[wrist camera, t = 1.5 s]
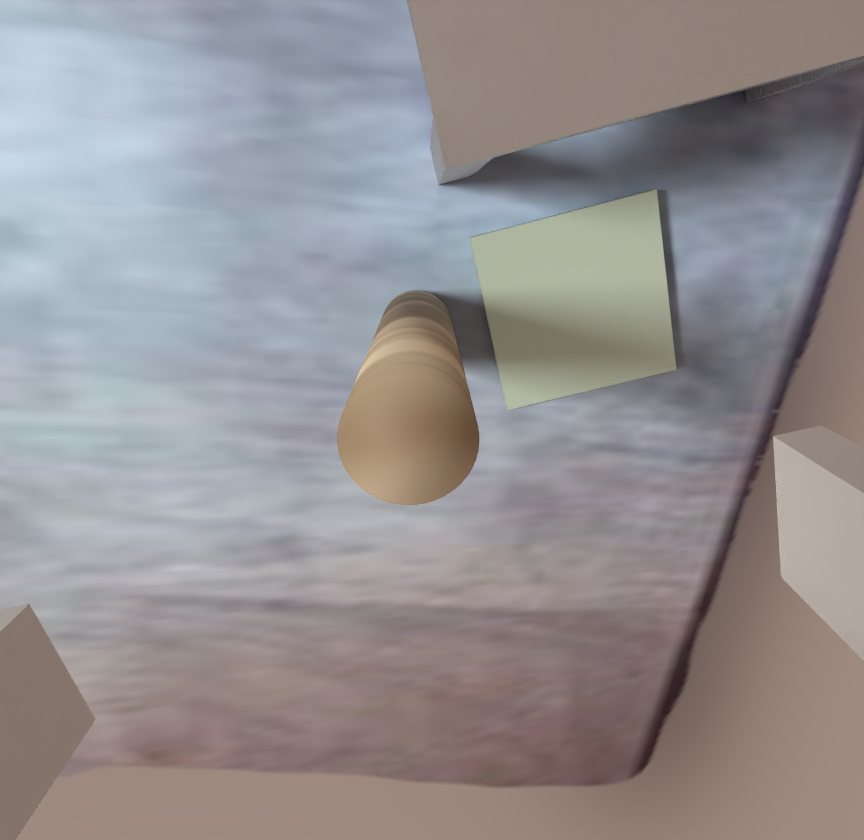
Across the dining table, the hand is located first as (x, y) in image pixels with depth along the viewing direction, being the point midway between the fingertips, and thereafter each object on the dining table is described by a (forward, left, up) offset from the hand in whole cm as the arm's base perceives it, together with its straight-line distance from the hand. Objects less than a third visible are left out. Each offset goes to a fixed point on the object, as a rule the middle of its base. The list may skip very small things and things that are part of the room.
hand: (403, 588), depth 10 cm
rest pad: (+1, +9, -25) cm, 26 cm away
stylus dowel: (0, 0, -25) cm, 25 cm away
